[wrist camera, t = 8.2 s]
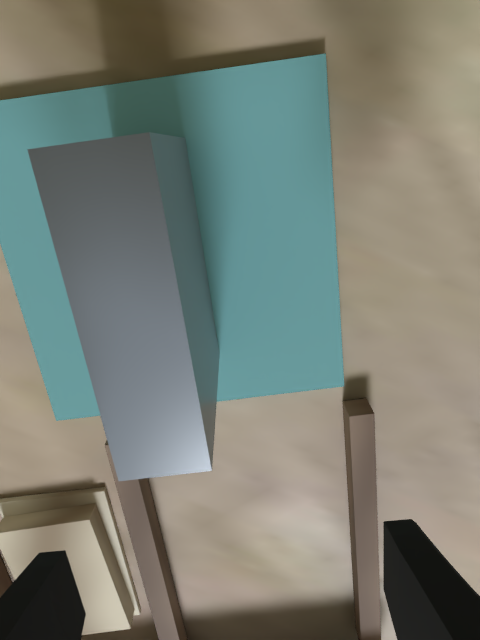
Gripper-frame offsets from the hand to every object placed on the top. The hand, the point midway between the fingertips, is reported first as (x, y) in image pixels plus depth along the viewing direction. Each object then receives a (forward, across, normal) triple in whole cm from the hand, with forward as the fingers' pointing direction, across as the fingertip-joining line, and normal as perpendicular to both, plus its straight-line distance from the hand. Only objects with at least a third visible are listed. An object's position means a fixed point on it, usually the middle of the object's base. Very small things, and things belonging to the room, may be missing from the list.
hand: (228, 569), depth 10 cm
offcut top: (+9, +9, +9) cm, 16 cm away
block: (+9, +2, -5) cm, 10 cm away
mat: (+9, +2, -5) cm, 11 cm away
